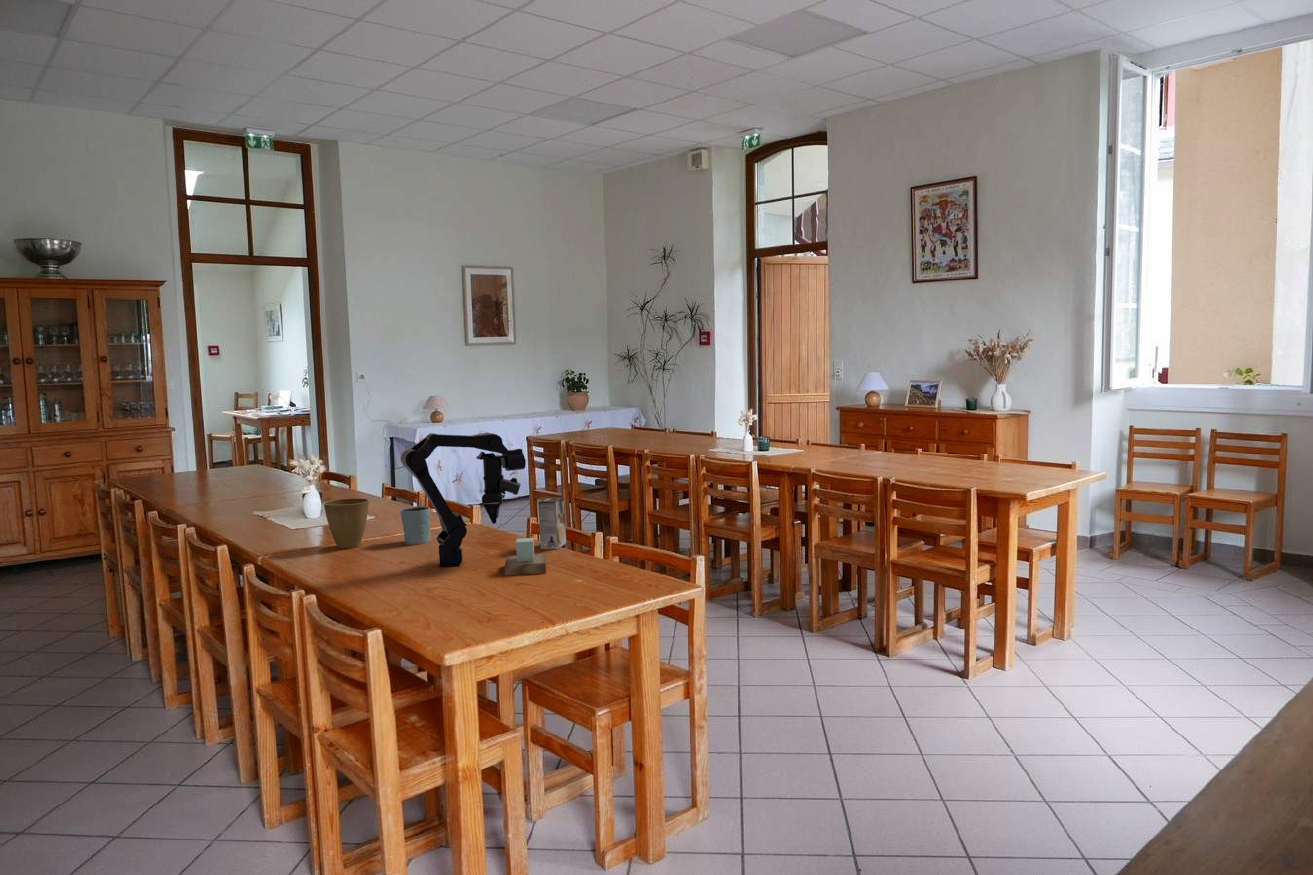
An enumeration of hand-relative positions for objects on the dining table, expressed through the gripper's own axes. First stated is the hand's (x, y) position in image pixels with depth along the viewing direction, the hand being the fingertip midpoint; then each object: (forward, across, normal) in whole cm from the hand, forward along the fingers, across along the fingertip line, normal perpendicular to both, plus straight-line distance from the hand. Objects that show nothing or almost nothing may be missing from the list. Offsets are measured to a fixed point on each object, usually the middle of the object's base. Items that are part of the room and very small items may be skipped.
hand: (495, 520), depth 280 cm
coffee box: (+12, +12, -18) cm, 25 cm away
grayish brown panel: (+12, -18, -10) cm, 24 cm away
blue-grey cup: (+12, +31, +30) cm, 45 cm away
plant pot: (+12, +30, +53) cm, 62 cm away
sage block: (+9, -18, -10) cm, 22 cm away
